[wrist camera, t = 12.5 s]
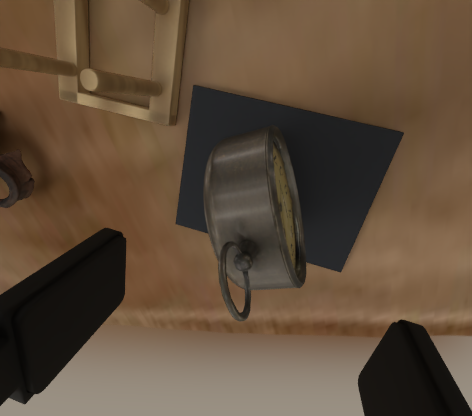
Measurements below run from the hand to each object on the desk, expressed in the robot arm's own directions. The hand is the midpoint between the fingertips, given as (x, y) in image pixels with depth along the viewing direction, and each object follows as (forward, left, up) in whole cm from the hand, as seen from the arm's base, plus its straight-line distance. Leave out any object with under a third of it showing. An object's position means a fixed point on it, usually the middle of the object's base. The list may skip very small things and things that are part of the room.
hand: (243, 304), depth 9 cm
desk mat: (0, 0, -17) cm, 17 cm away
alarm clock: (+1, +1, -17) cm, 17 cm away
